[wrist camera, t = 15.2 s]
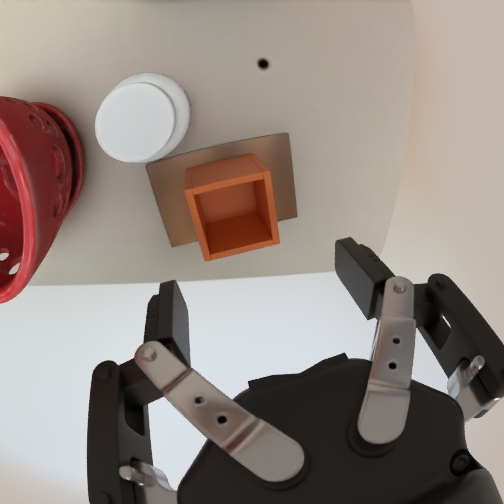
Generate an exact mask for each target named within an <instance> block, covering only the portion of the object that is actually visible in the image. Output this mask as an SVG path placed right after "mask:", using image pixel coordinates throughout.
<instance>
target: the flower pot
mask: <svg viewBox="0 0 504 504" xmlns="http://www.w3.org/2000/svg"><path fill="white" fill-rule="evenodd" d="M83 170H84V163H83V153H82V147H81V144H80V140H79V137H78V135H77V133H76V130H75V129H74V127H73V125H72V124H71V122H70V121H69V119H68V118H67V117H66V116H65V115H64V114H63V113H62V112H61V111H60V110H58V109H57V108H55V107H53V106H51V105H49V104H45V103H40V102H32V103H29V102H27V101H24V100H19V99H15V98H10V97H3V96H0V254H1V253H8V254H9V256H8V257H7V258H6V259H5V260H3V261H0V303H4V302H7V301H9V300H11V299H13V298H14V297H16V296H17V295H18V294H19V293H20V292H21V291H22V290H23V289H24V288H25V287H26V285H27V284H28V282H29V281H30V279H31V278H32V276H33V275H34V273H35V272H36V270H37V269H38V267H39V265H40V264H41V262H42V261H43V259H44V257H45V256H46V254H47V252H48V251H49V249H50V247H51V245H52V243H53V241H54V239H55V237H56V235H57V233H58V231H59V229H60V226H61V224H62V221H63V219H64V218H65V217H66V215H67V214H68V213H69V212H70V210H71V209H72V207H73V206H74V204H75V202H76V200H77V198H78V195H79V192H80V189H81V185H82V180H83ZM20 262H21V263H20ZM18 263H20V266H19V269H18V271H17V272H16V273H15V274H11V275H10V274H9V272H10V270H11V269H12V267H13V266H15V265H16V264H18Z"/></svg>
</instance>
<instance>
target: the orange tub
mask: <svg viewBox="0 0 504 504" xmlns="http://www.w3.org/2000/svg"><path fill="white" fill-rule="evenodd" d="M184 191H185V195H186V199H187V202H188V206H189V209H190V213H191V216H192V220H193V223H194V227H195V230H196V234H197V237H198V240H199V244H200V247H201V250H202V254H203V257H204V260H205V262H206V261H210V260H211V259H212V260H214V259H218V258H222V257H226V256H230V255H234V254H239V253H243V252H247V251H251V250H255V249H259V248H263V247H267V246H271V245H275V244H279V243H280V240H279V232H278V224H277V216H276V209H275V201H274V194H273V186H272V179H271V172H270V170H269V169H268V168H267V167H266V166H265V165H264V164H263V163H262V162H261V161H260V160H259V159H258V158H257V157H256V156H255V155H254V154H248V155H243V156H238V157H233V158H229V159H224V160H220V161H215V162H211V163H207V164H203V165H199V166H195V167H191V168H187V169H186V176H185V189H184Z"/></svg>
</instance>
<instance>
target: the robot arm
mask: <svg viewBox="0 0 504 504" xmlns="http://www.w3.org/2000/svg"><path fill="white" fill-rule="evenodd" d="M335 270H336V273H337V275H338V277H339V279H340V280H341V281H342V283H343V284H344V286H345V287H346V289H347V290H348V292H349V293H350V295H351V296H352V297H353V299H354V301H355V302H356V304H357V305H358V306H359V308H360V309H361V311H362V313H363V314H364V315H365V317H366V318H367V320H370V319H372V318H376V319H377V324H376V330H375V335H374V340H373V345H372V349H371V354H370V358H369V360H365V359H358V358H353V359H352V358H351V359H348V357H347V356H346V354H345V353H342V354H339V355H336V356H333V357H331V358H328V359H325V360H322V361H320V362H319V363H317V364H315V365H314V366H312V367H310V368H309V369H307V370H305V371H303V372H301V373H298V374H284V375H271V376H267V377H263V378H259V379H255V380H251V381H248V384H249V388H248V389H246V390H244V391H243V392H241V393H239V394H238V395H237V396H236V397H235V398H234V399H233V400H232V399H230V398H229V397H228V396H226V395H225V394H224V393H223V392H221V391H220V390H219V389H217V388H216V387H215V386H214V385H212V384H211V383H210V382H208V381H207V380H206V379H205V378H204V377H202V376H201V375H200V374H199V373H198V372H197V371H195V370H194V369H193V368H191V362H190V344H189V321H188V310H187V306H186V303H185V301H184V298H183V296H182V293H181V291H180V288H179V286H178V284H177V282H176V280H171V281H167V282H163V283H160V288H159V294H157V295H153V296H152V298H151V299H150V301H149V303H148V307H147V315H146V324H145V332H144V333H145V334H144V342H143V344H142V345H141V346H140V347H139V348H138V349H137V351H136V353H135V356H134V358H133V359H131V360H129V361H127V362H125V363H123V364H120V365H117V364H116V363H115V362H114V361H110V360H108V361H104V362H102V363H100V364H98V365H97V367H96V368H95V369H94V371H93V374H92V381H91V390H90V400H89V412H88V430H87V431H88V432H87V479H88V496H89V502H90V504H503V502H502V499H501V496H500V494H499V492H498V489H497V487H496V485H495V482H494V480H493V478H492V476H491V474H490V473H489V471H487V470H486V469H485V468H484V467H483V466H482V465H481V464H479V463H478V462H477V461H476V460H475V459H474V458H473V457H472V455H471V454H470V453H469V451H468V449H467V445H466V440H465V431H464V424H465V423H466V422H468V421H469V420H470V419H472V418H480V417H482V416H483V415H484V414H485V413H486V412H488V411H489V410H490V409H491V408H492V407H493V406H494V405H495V404H497V403H498V402H499V400H501V399H502V398H503V397H504V345H503V343H502V342H501V340H500V339H499V338H498V336H497V335H496V334H495V332H494V331H493V330H492V328H491V327H490V326H489V324H488V323H487V322H486V320H485V319H484V318H483V317H482V315H481V314H480V313H479V312H478V310H477V309H476V308H475V307H474V306H473V304H472V303H471V302H470V300H469V299H468V298H467V297H466V296H465V295H464V294H463V292H462V291H461V290H460V289H459V288H458V287H457V285H456V284H455V283H454V282H453V281H452V280H451V279H450V278H449V277H448V276H446V275H444V274H438V273H437V274H433V275H431V276H430V277H429V279H428V282H427V283H425V284H413V283H412V282H411V281H410V280H408V279H407V278H404V277H399V276H395V275H394V274H393V273H392V272H391V271H390V269H389V268H388V267H387V266H386V265H385V264H384V263H383V262H382V261H380V259H379V257H378V256H376V254H375V253H374V252H373V251H372V250H371V249H370V248H368V247H366V246H364V245H362V244H360V245H358V244H357V243H356V242H355V241H354V240H353V239H352V238H351V237H348V238H344V239H340V240H337V241H336V243H335ZM442 316H444V317H445V318H446V320H447V321H448V322H449V324H450V326H451V328H450V327H449V326H448V325H447V323H446V322H445V320H444V319H443V317H442ZM416 328H418V330H419V331H420V333H421V334H422V336H423V338H424V339H425V341H426V342H427V344H428V346H429V347H430V349H431V350H432V352H433V354H434V355H435V357H436V359H437V360H438V362H439V364H440V365H441V367H442V369H443V370H444V372H445V374H446V375H447V377H448V382H447V389H448V394H445V393H443V392H440V391H438V390H436V389H433V388H431V387H429V386H426V385H424V384H422V383H419V382H417V381H415V380H412V379H411V375H412V366H413V358H414V348H415V335H416ZM189 368H190V369H189ZM161 397H165V398H166V399H167V400H168V401H169V402H170V403H171V404H172V405H173V406H174V407H175V408H176V409H177V410H178V411H179V412H180V413H181V414H182V415H183V416H184V417H185V418H186V419H187V420H188V421H189V422H190V423H191V424H192V425H194V426H195V427H196V428H197V429H198V430H199V431H200V432H201V433H202V434H203V435H204V436H205V437H206V438H208V439H207V441H206V442H205V444H204V445H203V447H202V449H201V450H200V452H199V454H198V455H197V457H196V458H195V460H194V461H193V463H192V465H191V467H190V468H189V469H188V471H187V472H186V474H185V476H184V477H183V479H182V480H181V482H180V484H179V486H178V489H177V491H175V490H174V489H172V488H171V486H170V485H169V483H168V480H167V477H166V475H165V474H164V473H163V472H162V471H161V470H159V469H157V468H155V467H153V459H152V450H151V440H150V429H149V415H148V404H149V403H151V402H153V401H155V400H157V399H160V398H161Z"/></svg>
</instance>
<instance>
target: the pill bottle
mask: <svg viewBox="0 0 504 504" xmlns="http://www.w3.org/2000/svg"><path fill="white" fill-rule="evenodd" d="M190 117H191V105H190V101H189V98H188V95H187V94H186V92H185V91H184V90H183V89H182V87H181V86H180V85H179V84H178V83H177V82H175V81H174V80H173V79H171V78H169V77H167V76H165V75H162V74H158V73H141V74H136V75H133V76H131V77H128V78H126V79H124V80H123V81H121V82H120V83H119V84H117V85H116V86H115V87H114V88H113V89H112V90H111V91H110V93H109V94H108V95H107V97H106V98H105V99H104V100H103V102H102V103H101V105H100V107H99V109H98V112H97V114H96V119H95V133H96V137H97V140H98V142H99V144H100V146H101V147H102V149H103V150H104V151H105V152H106V153H107V154H108V155H109V156H111V157H112V158H114V159H116V160H119V161H122V162H129V163H134V162H137V163H143V162H150V161H154V160H157V159H160V158H162V157H164V156H165V155H167V154H168V153H170V152H171V151H172V150H173V149H174V148H176V146H177V145H178V144H179V143H180V142H181V141H182V139H183V138H184V136H185V134H186V132H187V130H188V127H189V122H190Z"/></svg>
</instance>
